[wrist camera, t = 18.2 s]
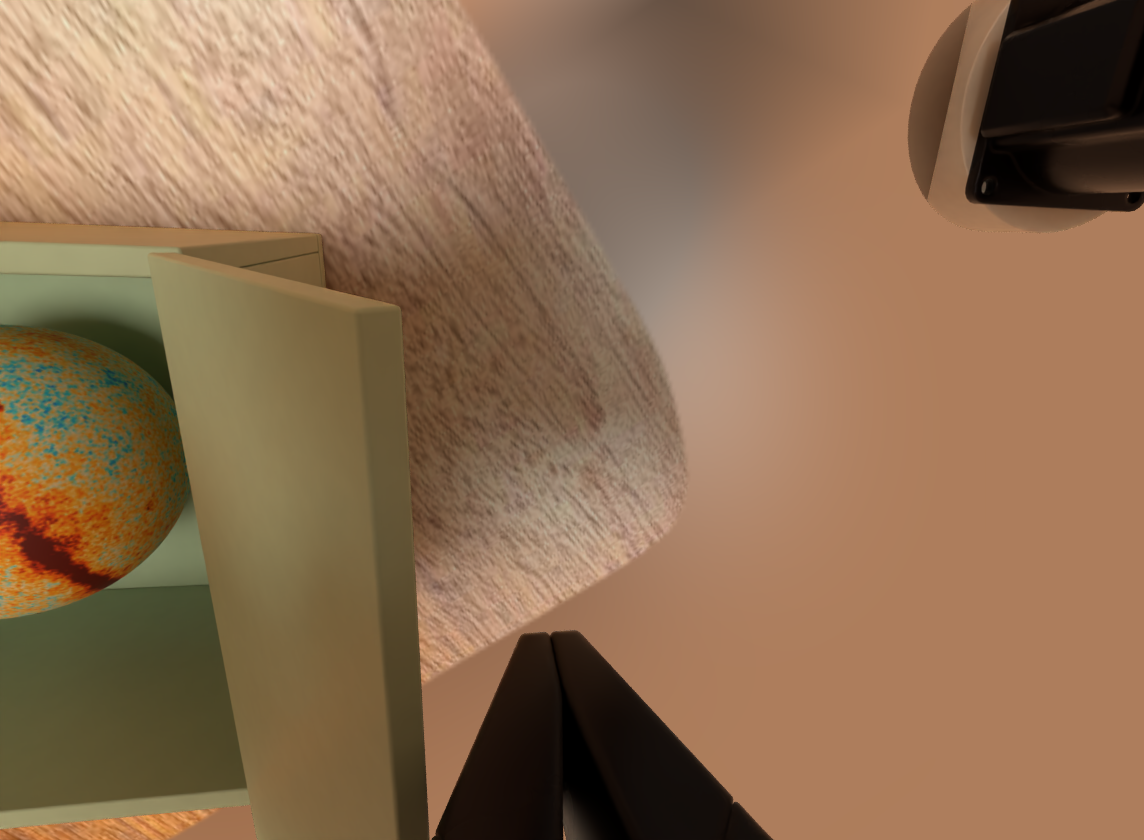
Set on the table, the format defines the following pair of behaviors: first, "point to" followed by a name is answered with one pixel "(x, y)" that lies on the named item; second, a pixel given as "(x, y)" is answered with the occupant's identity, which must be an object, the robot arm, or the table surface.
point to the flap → (304, 541)
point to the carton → (145, 595)
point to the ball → (80, 468)
